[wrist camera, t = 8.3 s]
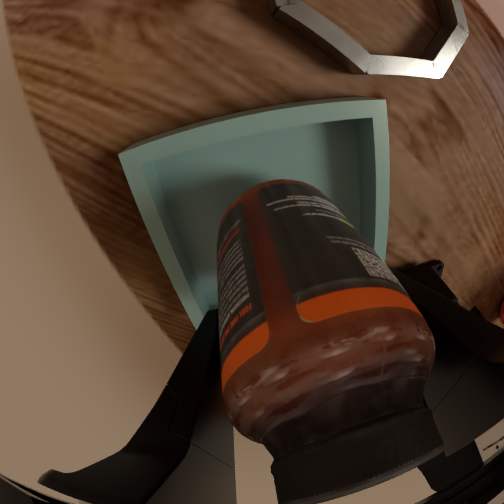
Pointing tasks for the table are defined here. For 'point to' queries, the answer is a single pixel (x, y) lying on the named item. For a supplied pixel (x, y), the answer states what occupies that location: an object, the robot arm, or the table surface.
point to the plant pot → (502, 313)
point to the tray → (256, 178)
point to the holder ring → (361, 62)
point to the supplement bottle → (319, 346)
